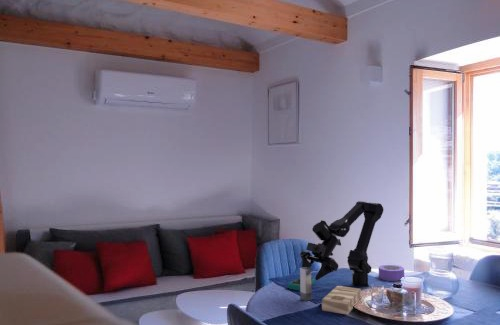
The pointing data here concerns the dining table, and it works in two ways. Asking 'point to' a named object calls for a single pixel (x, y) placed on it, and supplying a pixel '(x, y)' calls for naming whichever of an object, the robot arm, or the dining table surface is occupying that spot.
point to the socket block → (341, 299)
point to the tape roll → (391, 272)
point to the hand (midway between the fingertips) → (308, 276)
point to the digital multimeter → (298, 284)
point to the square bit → (305, 283)
